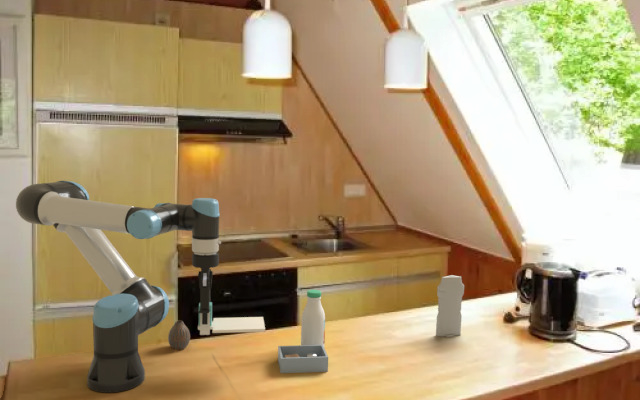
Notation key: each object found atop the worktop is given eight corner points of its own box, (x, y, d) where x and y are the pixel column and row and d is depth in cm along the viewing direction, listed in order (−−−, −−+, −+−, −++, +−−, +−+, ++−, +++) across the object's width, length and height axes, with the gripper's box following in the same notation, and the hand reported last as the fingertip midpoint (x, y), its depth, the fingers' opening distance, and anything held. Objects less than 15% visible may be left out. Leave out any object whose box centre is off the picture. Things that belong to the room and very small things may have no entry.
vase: (190, 343, 188) (190, 317, 187) (189, 351, 182) (190, 324, 181) (168, 344, 187) (168, 318, 186) (167, 352, 180) (167, 325, 179)
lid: (197, 333, 159) (197, 309, 158) (199, 321, 170) (199, 298, 169) (265, 331, 162) (265, 308, 161) (263, 319, 173) (263, 297, 172)
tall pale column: (458, 332, 207) (462, 273, 205) (464, 336, 204) (467, 276, 201) (432, 334, 205) (435, 274, 202) (437, 338, 201) (440, 277, 198)
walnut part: (288, 369, 168) (289, 360, 168) (284, 364, 172) (284, 355, 171) (301, 368, 170) (301, 358, 169) (296, 363, 173) (296, 353, 173)
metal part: (304, 365, 172) (304, 355, 172) (309, 361, 175) (309, 352, 175) (314, 366, 171) (314, 356, 170) (318, 363, 173) (318, 353, 173)
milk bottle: (321, 356, 181) (323, 295, 179) (298, 353, 182) (299, 293, 180) (326, 347, 188) (328, 289, 186) (303, 345, 190) (305, 287, 188)
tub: (280, 375, 166) (281, 358, 165) (277, 361, 176) (278, 345, 175) (327, 373, 168) (328, 357, 167) (322, 360, 178) (322, 344, 177)
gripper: (218, 258, 154) (217, 341, 157) (219, 246, 172) (219, 320, 174) (190, 259, 153) (189, 342, 155) (194, 246, 170) (194, 321, 173)
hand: (205, 330), depth 165 cm, fingers closed on lid, 5 cm apart
